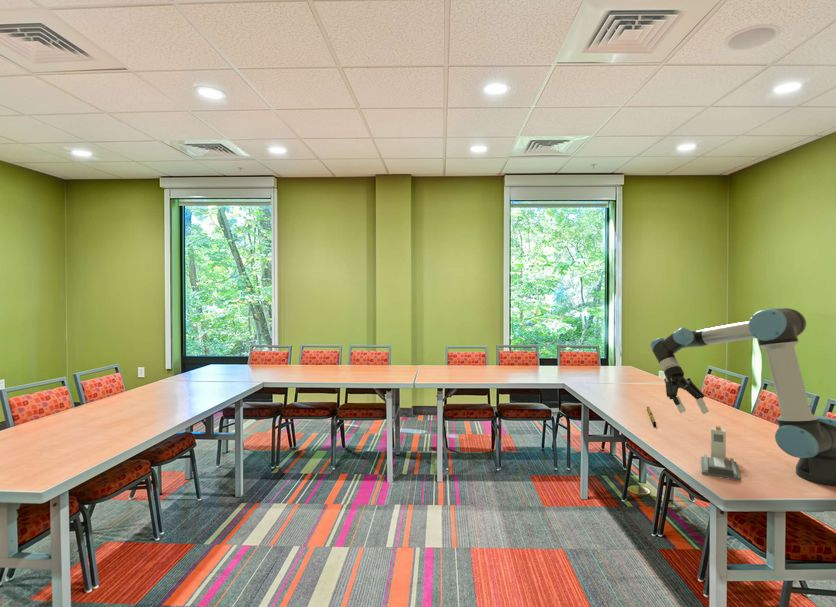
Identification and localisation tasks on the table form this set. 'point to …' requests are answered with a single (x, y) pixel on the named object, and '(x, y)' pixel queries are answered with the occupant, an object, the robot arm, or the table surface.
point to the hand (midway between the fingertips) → (694, 412)
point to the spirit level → (651, 417)
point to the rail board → (727, 464)
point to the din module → (718, 442)
